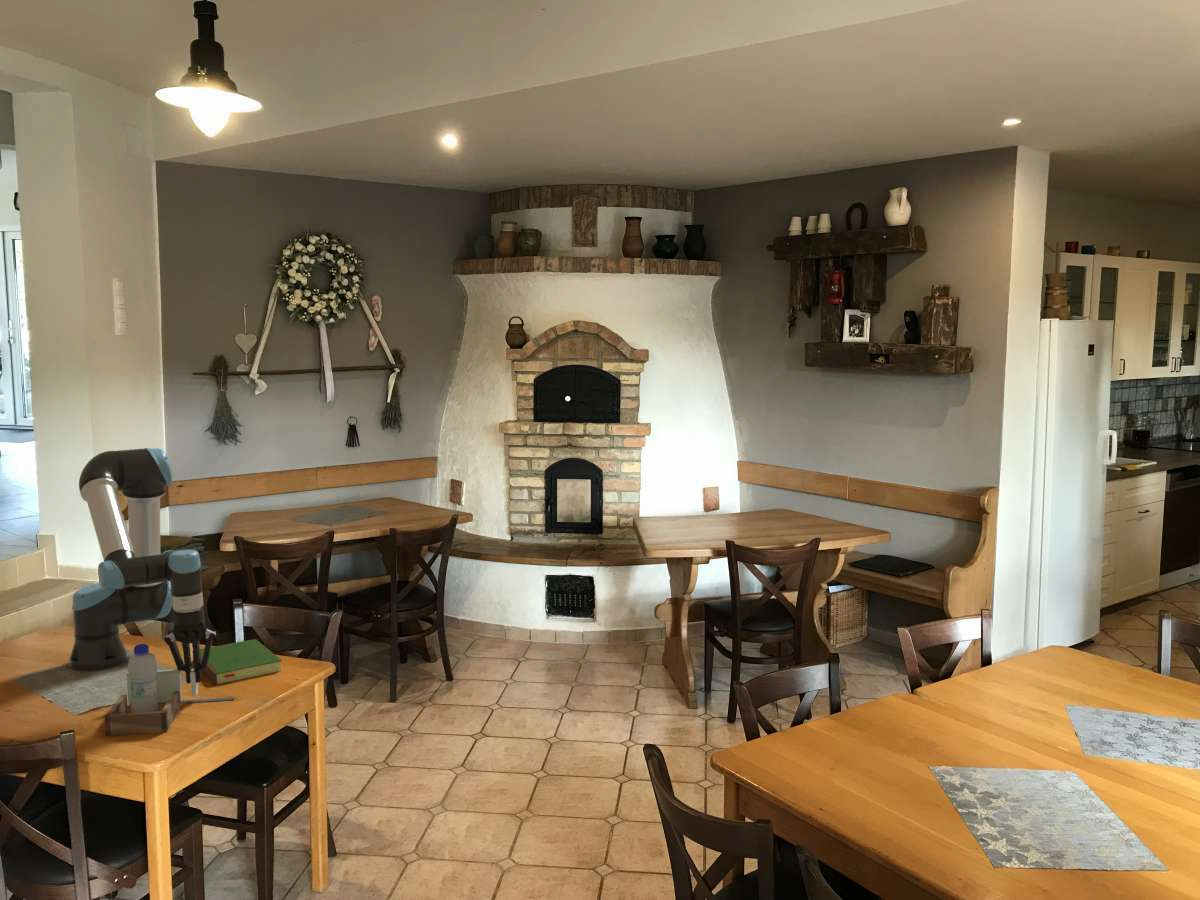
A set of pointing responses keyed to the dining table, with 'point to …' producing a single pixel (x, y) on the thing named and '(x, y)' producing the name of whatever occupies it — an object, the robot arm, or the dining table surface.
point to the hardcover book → (239, 661)
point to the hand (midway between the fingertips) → (195, 693)
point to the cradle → (146, 716)
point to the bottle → (143, 680)
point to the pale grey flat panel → (163, 685)
